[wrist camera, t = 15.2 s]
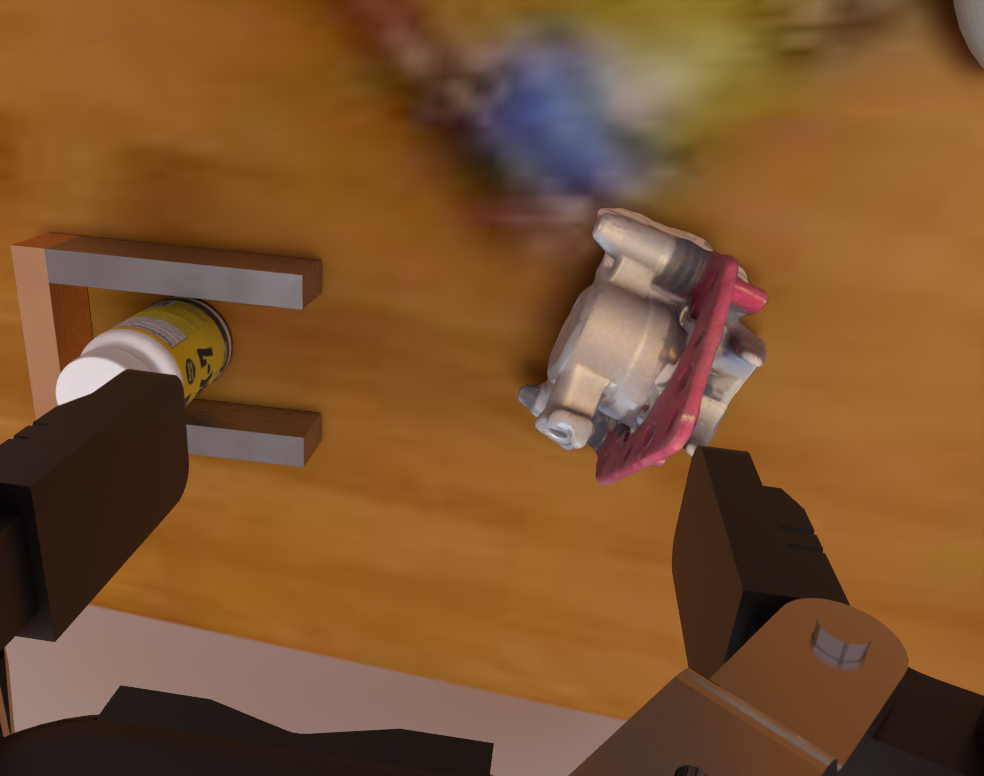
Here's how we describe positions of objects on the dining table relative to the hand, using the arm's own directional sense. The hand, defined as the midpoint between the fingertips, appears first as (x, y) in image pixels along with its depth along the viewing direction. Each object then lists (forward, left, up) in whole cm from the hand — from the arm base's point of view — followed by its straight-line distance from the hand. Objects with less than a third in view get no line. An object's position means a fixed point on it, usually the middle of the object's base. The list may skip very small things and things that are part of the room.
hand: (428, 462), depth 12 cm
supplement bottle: (+8, -16, -27) cm, 32 cm away
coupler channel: (+9, -15, -26) cm, 32 cm away
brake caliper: (+6, +6, -27) cm, 28 cm away
